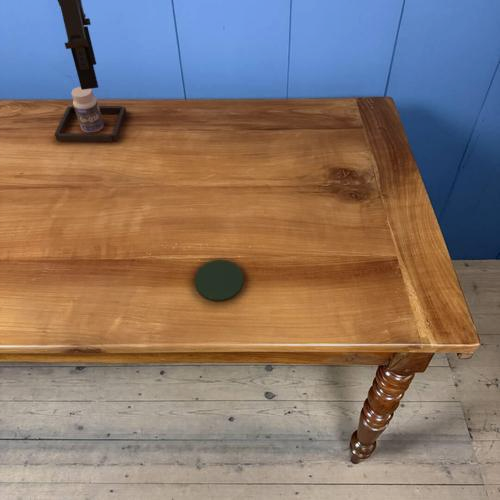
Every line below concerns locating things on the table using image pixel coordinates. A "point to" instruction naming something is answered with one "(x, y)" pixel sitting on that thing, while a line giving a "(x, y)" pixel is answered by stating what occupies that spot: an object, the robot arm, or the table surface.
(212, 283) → the mat
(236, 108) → the table surface
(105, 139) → the dark brown rectangular frame
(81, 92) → the pill bottle
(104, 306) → the table surface
